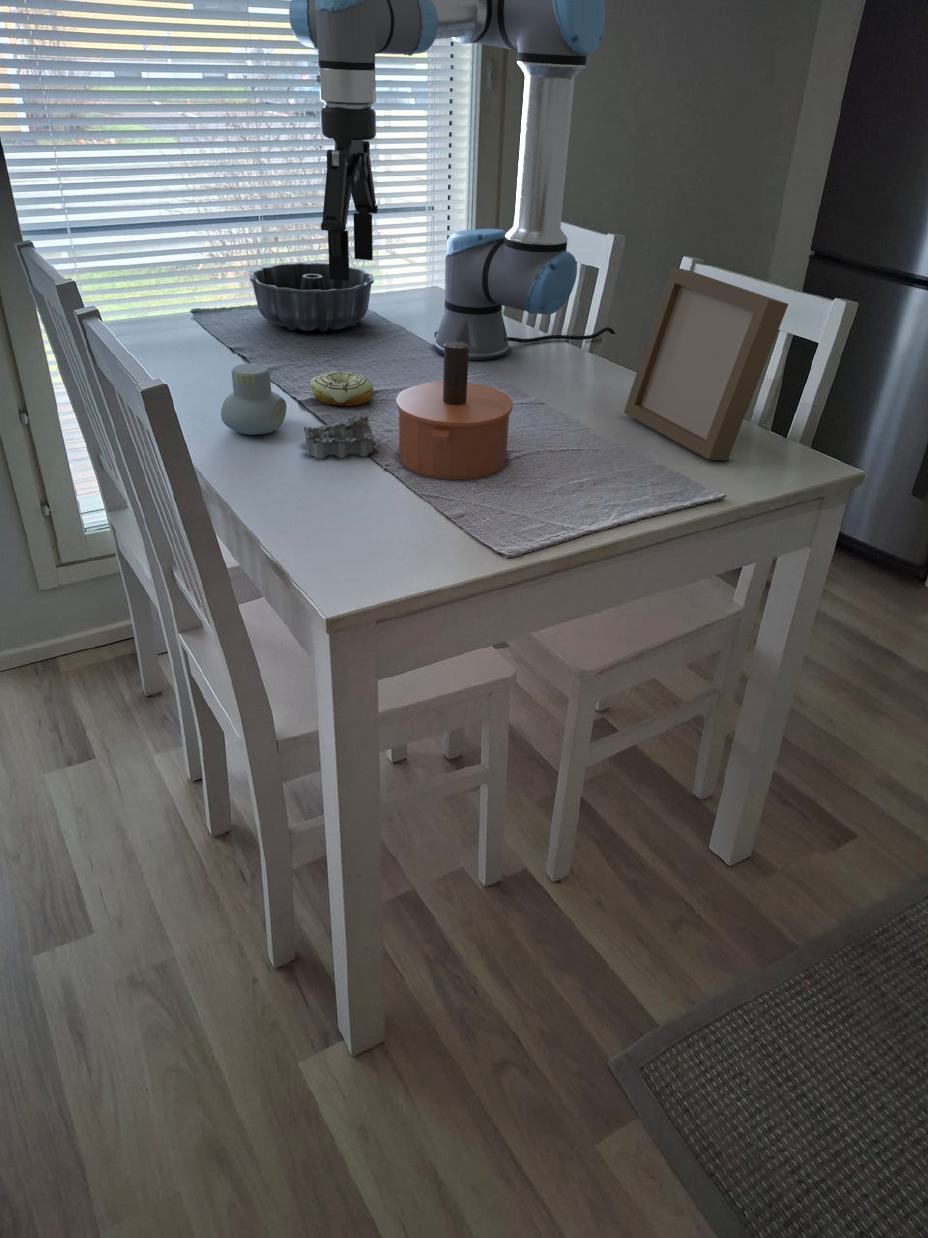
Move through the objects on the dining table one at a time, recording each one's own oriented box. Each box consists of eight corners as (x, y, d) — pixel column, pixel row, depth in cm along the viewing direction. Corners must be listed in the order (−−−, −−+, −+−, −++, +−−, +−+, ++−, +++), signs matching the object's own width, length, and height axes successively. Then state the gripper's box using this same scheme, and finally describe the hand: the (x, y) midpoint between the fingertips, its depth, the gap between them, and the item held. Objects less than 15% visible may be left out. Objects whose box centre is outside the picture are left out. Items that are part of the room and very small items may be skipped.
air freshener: (267, 444, 143) (262, 382, 137) (218, 438, 144) (211, 377, 138) (291, 419, 152) (287, 360, 146) (244, 414, 153) (238, 355, 147)
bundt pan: (329, 300, 216) (327, 256, 210) (398, 326, 200) (398, 279, 194) (230, 317, 200) (226, 270, 195) (298, 347, 184) (295, 296, 179)
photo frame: (707, 465, 143) (740, 303, 129) (622, 418, 159) (644, 268, 145) (775, 449, 150) (813, 294, 136) (687, 406, 165) (714, 262, 151)
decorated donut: (345, 413, 155) (344, 392, 153) (299, 399, 160) (298, 378, 158) (384, 397, 162) (383, 376, 160) (339, 383, 167) (338, 363, 165)
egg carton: (371, 439, 146) (371, 415, 144) (375, 458, 140) (375, 433, 138) (304, 440, 145) (303, 416, 142) (305, 460, 139) (304, 434, 136)
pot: (514, 436, 150) (518, 386, 145) (493, 492, 132) (497, 437, 127) (416, 425, 152) (417, 376, 147) (382, 479, 134) (382, 425, 129)
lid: (519, 395, 144) (524, 333, 138) (502, 436, 129) (507, 369, 124) (411, 383, 146) (411, 322, 140) (382, 423, 131) (382, 356, 126)
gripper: (345, 97, 134) (349, 249, 145) (292, 110, 113) (301, 286, 125) (395, 100, 133) (395, 253, 145) (350, 114, 112) (354, 290, 124)
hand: (352, 269), depth 135 cm, fingers open, 13 cm apart
